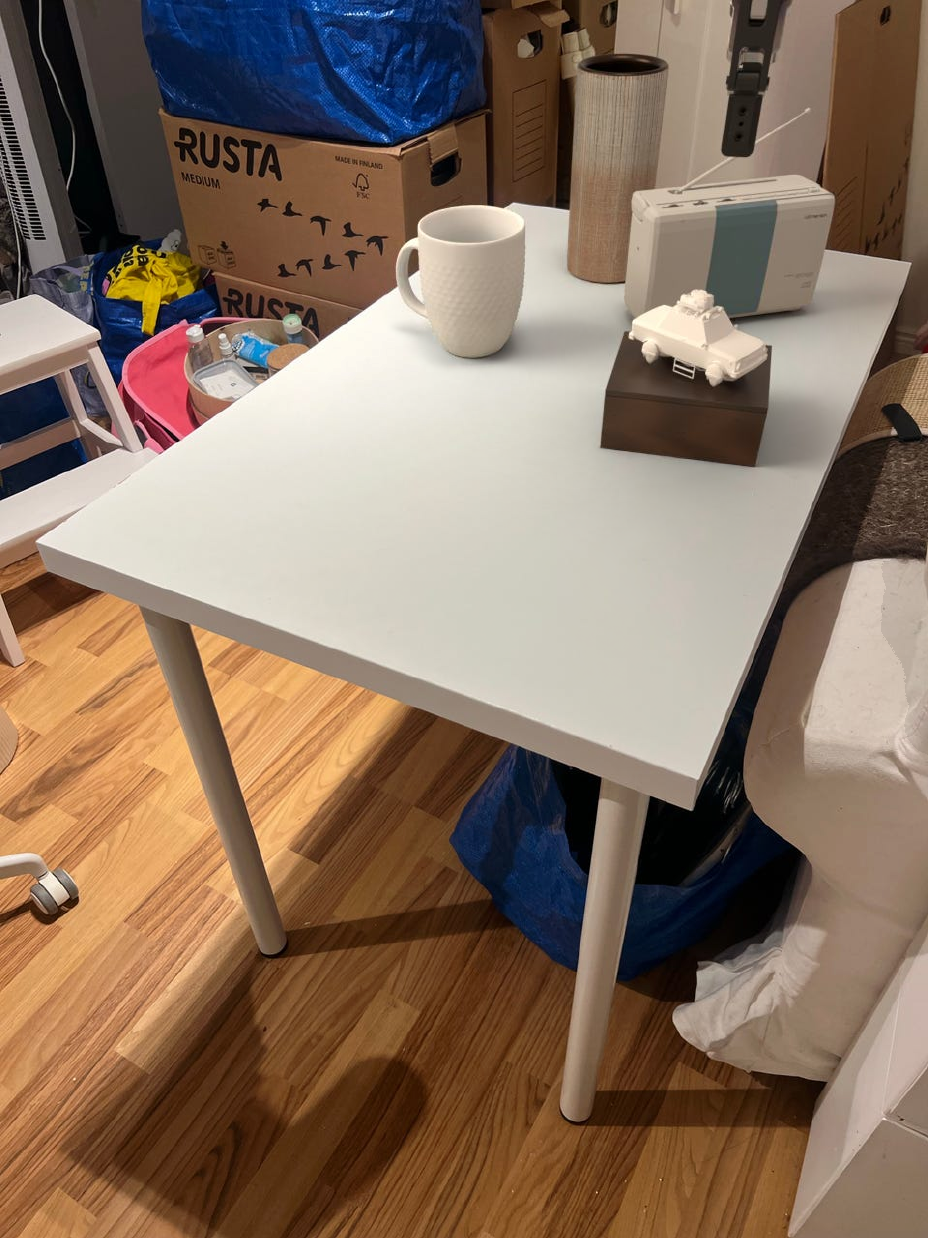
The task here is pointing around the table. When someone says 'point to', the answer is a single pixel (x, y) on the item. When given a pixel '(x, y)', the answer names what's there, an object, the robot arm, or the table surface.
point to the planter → (612, 158)
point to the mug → (467, 276)
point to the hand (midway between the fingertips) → (740, 138)
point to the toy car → (698, 338)
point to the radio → (729, 243)
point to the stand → (683, 409)
